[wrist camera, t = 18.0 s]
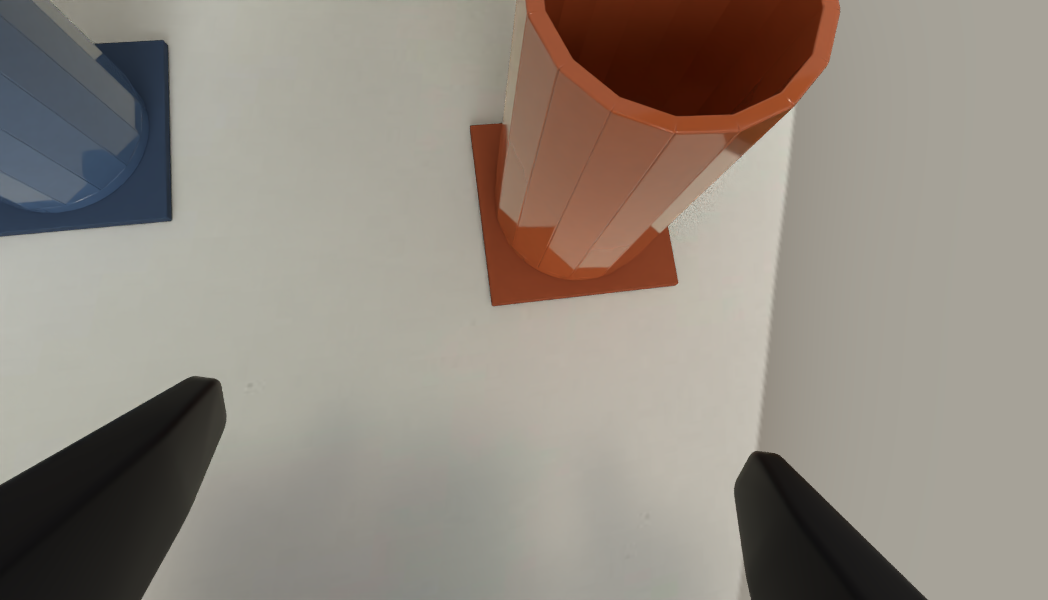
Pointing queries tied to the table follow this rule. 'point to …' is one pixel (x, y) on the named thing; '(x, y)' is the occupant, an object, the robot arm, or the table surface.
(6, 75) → the blue cup
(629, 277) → the rust mat
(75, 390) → the table surface
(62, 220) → the blue mat
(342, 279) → the table surface
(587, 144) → the terracotta cup
